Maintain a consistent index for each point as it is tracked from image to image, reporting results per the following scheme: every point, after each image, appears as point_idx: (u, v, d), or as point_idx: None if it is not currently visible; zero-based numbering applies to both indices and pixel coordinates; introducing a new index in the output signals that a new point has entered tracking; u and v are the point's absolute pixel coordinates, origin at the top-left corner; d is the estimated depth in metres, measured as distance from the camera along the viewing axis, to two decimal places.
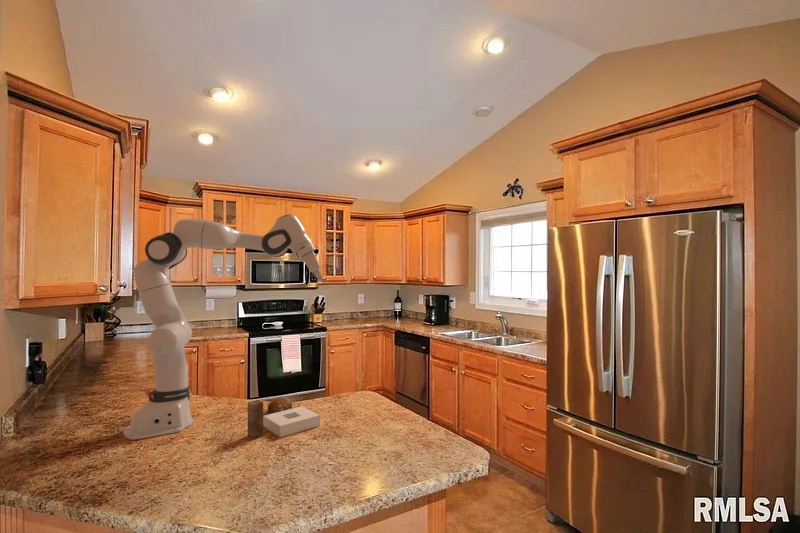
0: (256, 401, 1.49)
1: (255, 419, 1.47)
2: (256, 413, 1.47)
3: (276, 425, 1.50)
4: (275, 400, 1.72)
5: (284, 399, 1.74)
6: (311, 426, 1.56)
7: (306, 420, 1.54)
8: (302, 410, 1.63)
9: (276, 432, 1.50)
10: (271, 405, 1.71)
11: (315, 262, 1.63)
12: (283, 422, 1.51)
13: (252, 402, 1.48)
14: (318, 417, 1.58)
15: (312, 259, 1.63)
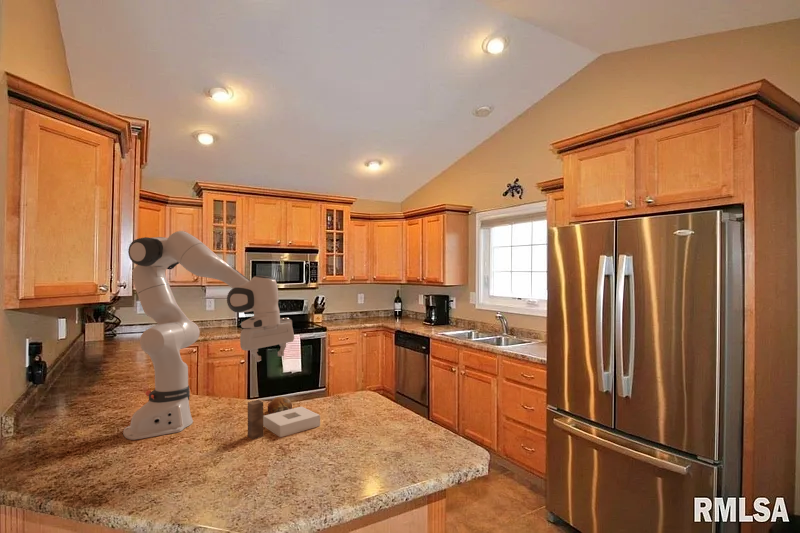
0: (256, 401, 1.49)
1: (255, 419, 1.47)
2: (256, 413, 1.47)
3: (276, 425, 1.50)
4: (275, 400, 1.72)
5: (284, 399, 1.74)
6: (311, 426, 1.56)
7: (306, 420, 1.54)
8: (302, 410, 1.63)
9: (276, 432, 1.50)
10: (271, 405, 1.71)
11: (244, 342, 1.43)
12: (283, 422, 1.51)
13: (252, 402, 1.48)
14: (318, 417, 1.58)
15: (244, 337, 1.43)
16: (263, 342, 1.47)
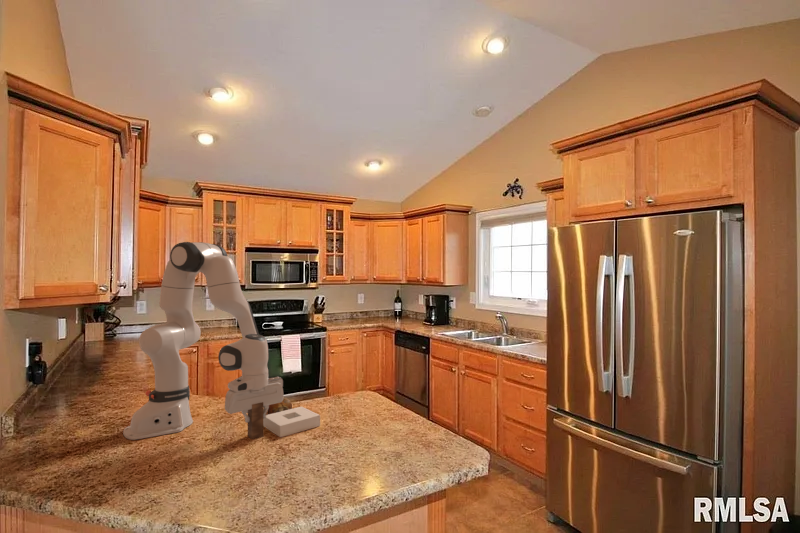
0: None
1: (255, 419, 1.47)
2: (256, 413, 1.47)
3: (276, 425, 1.50)
4: None
5: (284, 399, 1.73)
6: (311, 426, 1.56)
7: (306, 420, 1.54)
8: (302, 410, 1.63)
9: (276, 432, 1.50)
10: (271, 405, 1.70)
11: (228, 406, 1.41)
12: (283, 422, 1.51)
13: None
14: (318, 417, 1.58)
15: (228, 400, 1.42)
16: (247, 405, 1.45)
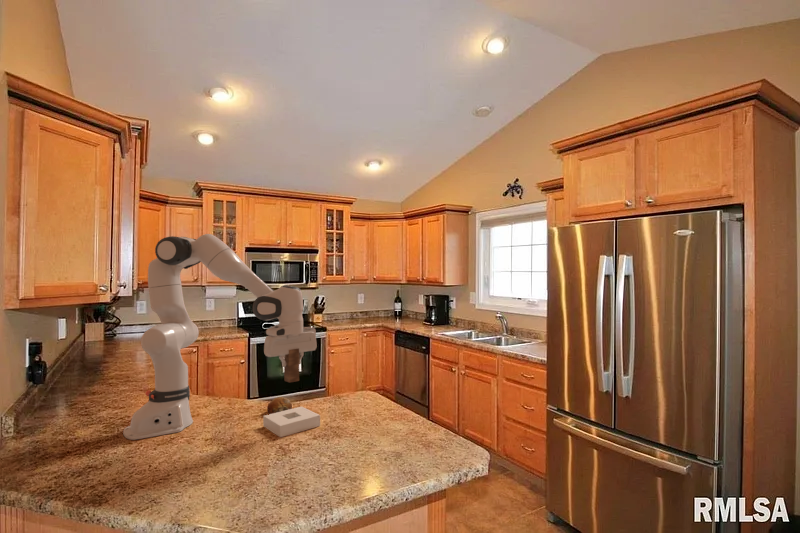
0: None
1: (292, 364, 1.56)
2: (292, 358, 1.56)
3: (276, 425, 1.50)
4: (275, 401, 1.71)
5: (284, 399, 1.73)
6: (311, 426, 1.56)
7: (306, 420, 1.54)
8: (302, 410, 1.63)
9: (276, 432, 1.50)
10: (271, 406, 1.70)
11: (267, 349, 1.50)
12: (283, 422, 1.51)
13: None
14: (318, 417, 1.58)
15: (267, 344, 1.51)
16: (285, 350, 1.54)
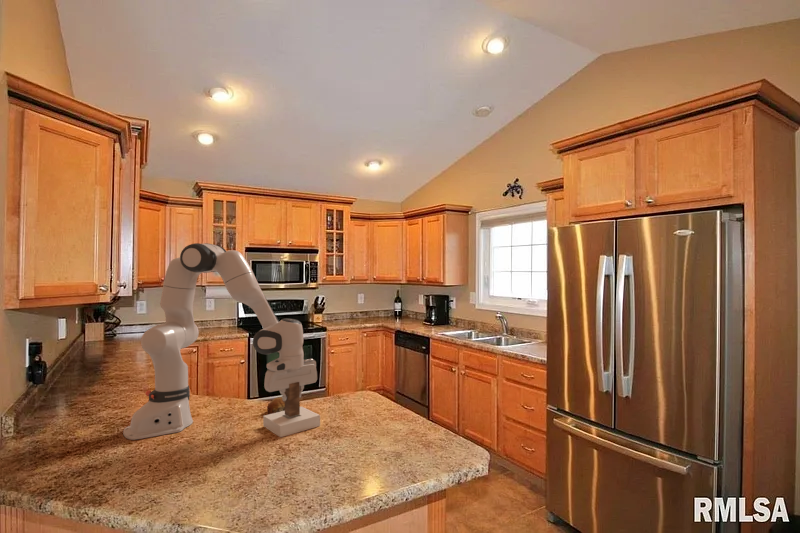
0: None
1: (292, 398, 1.56)
2: (293, 392, 1.56)
3: (276, 425, 1.50)
4: (275, 401, 1.71)
5: None
6: (311, 426, 1.56)
7: (306, 420, 1.54)
8: (302, 410, 1.63)
9: (276, 432, 1.50)
10: (271, 406, 1.70)
11: (268, 384, 1.50)
12: (283, 422, 1.51)
13: None
14: (318, 417, 1.58)
15: (267, 379, 1.51)
16: (285, 384, 1.54)
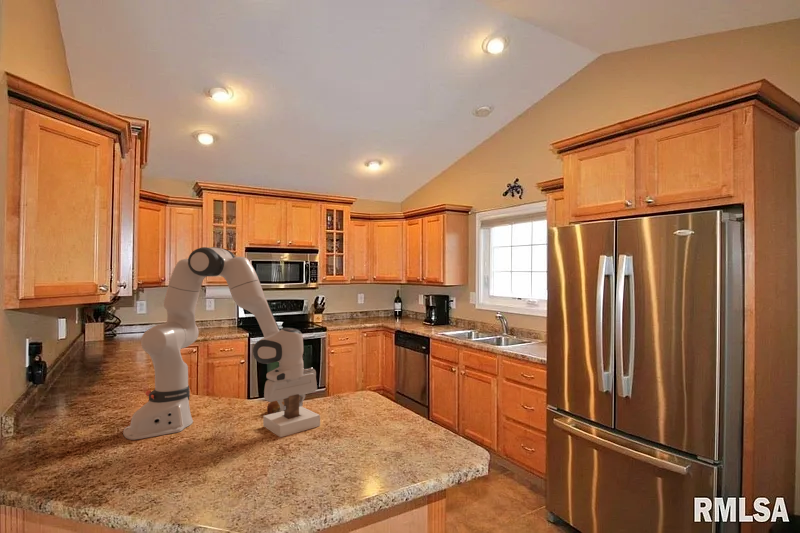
0: None
1: (292, 410, 1.56)
2: (292, 404, 1.56)
3: (276, 425, 1.50)
4: (275, 401, 1.71)
5: None
6: (311, 426, 1.56)
7: (306, 420, 1.54)
8: (302, 410, 1.63)
9: (276, 432, 1.50)
10: (271, 406, 1.70)
11: (267, 394, 1.50)
12: (283, 422, 1.51)
13: None
14: (318, 417, 1.58)
15: (267, 389, 1.51)
16: (285, 394, 1.54)
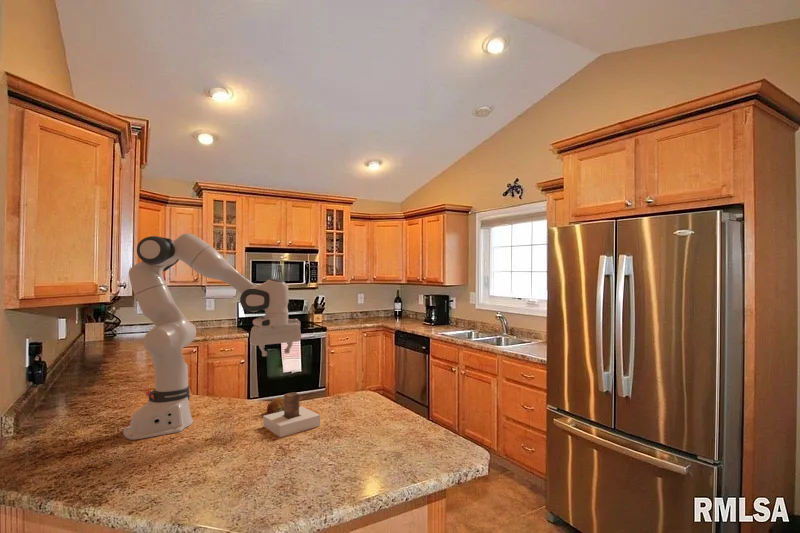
0: (292, 393, 1.58)
1: (292, 410, 1.56)
2: (292, 404, 1.56)
3: (276, 425, 1.50)
4: (274, 401, 1.71)
5: (283, 400, 1.73)
6: (311, 426, 1.56)
7: (306, 420, 1.54)
8: (302, 410, 1.63)
9: (276, 432, 1.50)
10: (270, 406, 1.69)
11: (253, 338, 1.60)
12: (283, 422, 1.51)
13: (288, 394, 1.58)
14: (318, 417, 1.58)
15: (253, 334, 1.61)
16: (269, 339, 1.64)
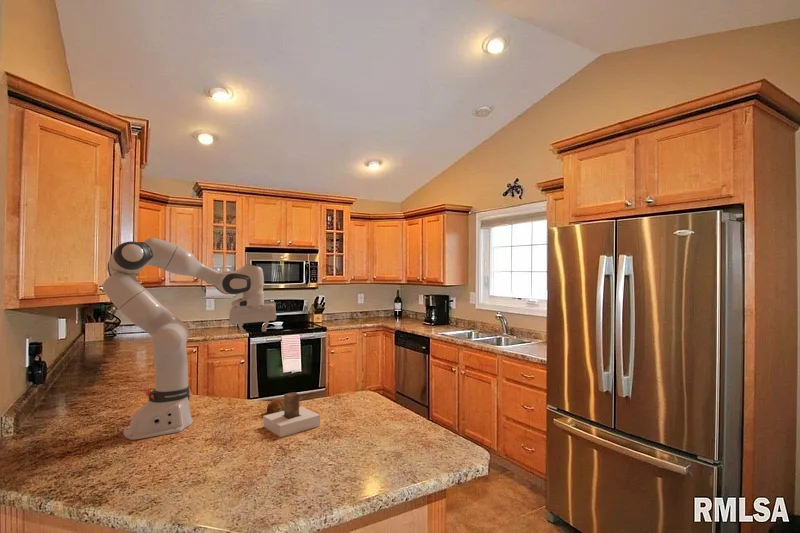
0: (292, 393, 1.58)
1: (292, 410, 1.56)
2: (292, 404, 1.56)
3: (276, 425, 1.50)
4: (274, 401, 1.71)
5: (283, 400, 1.72)
6: (311, 426, 1.56)
7: (306, 420, 1.54)
8: (302, 410, 1.63)
9: (276, 432, 1.50)
10: (270, 406, 1.69)
11: (232, 317, 1.79)
12: (283, 422, 1.51)
13: (288, 394, 1.58)
14: (318, 417, 1.58)
15: (232, 313, 1.79)
16: (247, 318, 1.83)
